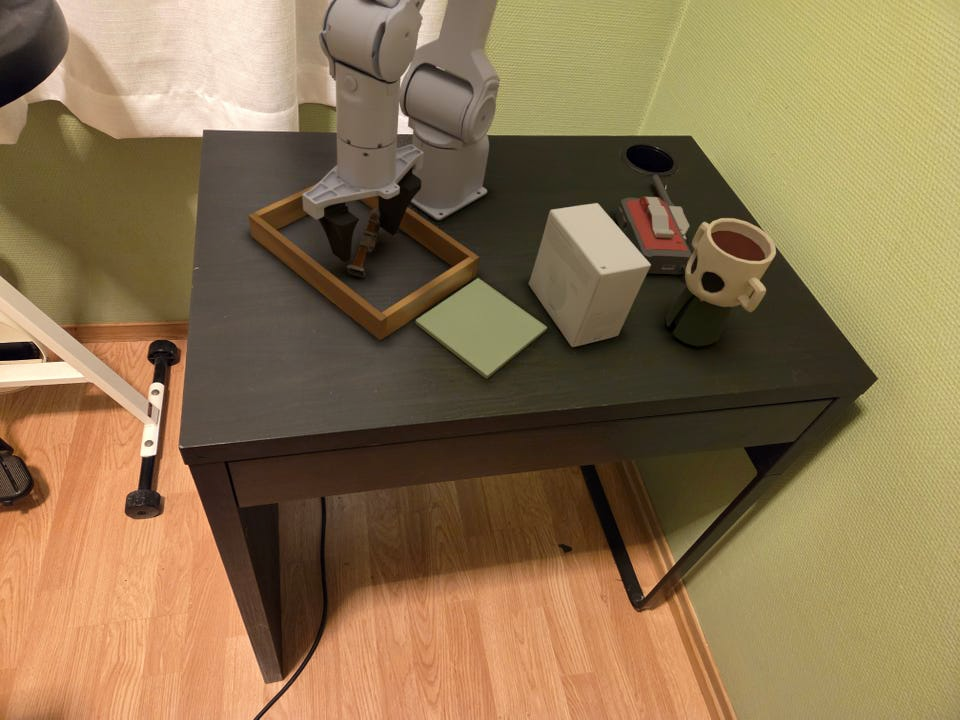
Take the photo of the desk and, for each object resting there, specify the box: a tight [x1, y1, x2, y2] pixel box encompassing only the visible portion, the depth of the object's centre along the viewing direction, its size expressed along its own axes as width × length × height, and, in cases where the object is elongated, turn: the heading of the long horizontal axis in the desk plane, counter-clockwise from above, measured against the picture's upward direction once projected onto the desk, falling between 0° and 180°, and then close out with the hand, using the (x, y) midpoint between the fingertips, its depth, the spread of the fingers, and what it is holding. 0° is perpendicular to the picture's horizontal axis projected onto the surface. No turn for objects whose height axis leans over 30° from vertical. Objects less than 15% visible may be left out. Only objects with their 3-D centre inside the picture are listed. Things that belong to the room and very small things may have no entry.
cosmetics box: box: [527, 202, 651, 348], centre depth 70 cm, size 10×6×10 cm, turn 25°
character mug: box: [665, 217, 777, 347], centre depth 70 cm, size 11×7×13 cm, turn 21°
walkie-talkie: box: [615, 174, 693, 276], centre depth 85 cm, size 9×4×20 cm
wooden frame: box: [248, 183, 480, 341], centre depth 74 cm, size 15×21×3 cm
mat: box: [414, 277, 548, 380], centre depth 70 cm, size 10×10×1 cm
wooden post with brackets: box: [346, 208, 382, 279], centre depth 74 cm, size 2×8×4 cm, turn 168°
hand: (364, 243), depth 73 cm, fingers open, 6 cm apart
